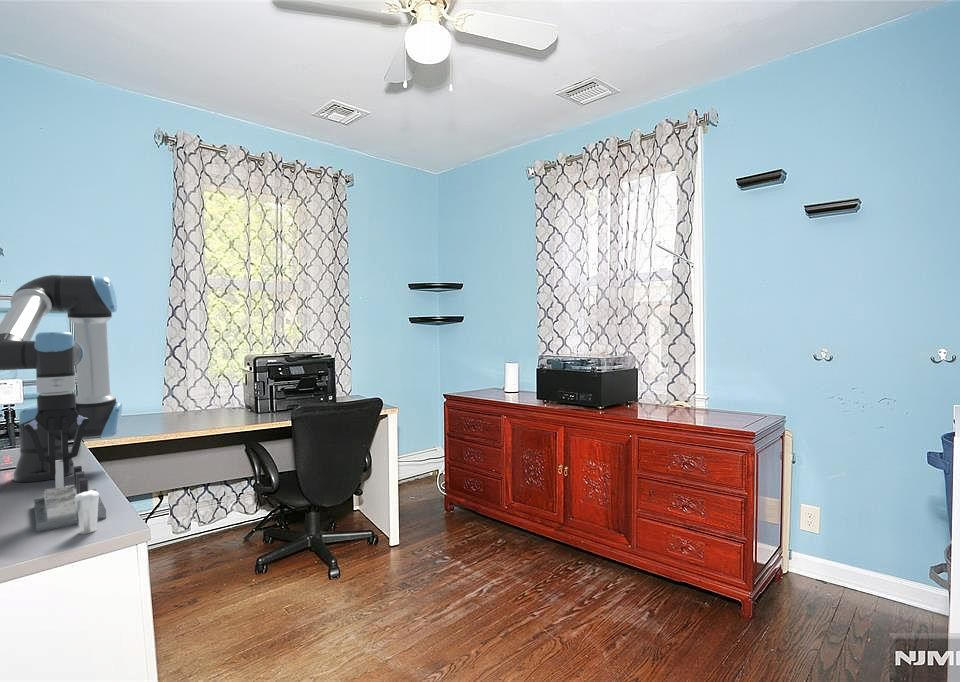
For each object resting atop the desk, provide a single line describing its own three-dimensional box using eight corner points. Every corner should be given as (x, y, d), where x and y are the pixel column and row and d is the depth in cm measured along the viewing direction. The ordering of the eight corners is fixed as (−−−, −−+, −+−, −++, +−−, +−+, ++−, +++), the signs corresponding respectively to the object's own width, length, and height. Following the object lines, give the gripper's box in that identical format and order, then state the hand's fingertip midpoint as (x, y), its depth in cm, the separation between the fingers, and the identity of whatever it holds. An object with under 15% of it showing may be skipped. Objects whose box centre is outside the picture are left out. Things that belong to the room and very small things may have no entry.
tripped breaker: (76, 491, 134) (75, 472, 134) (84, 489, 135) (83, 471, 135) (77, 493, 132) (76, 474, 132) (85, 491, 134) (84, 473, 133)
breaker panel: (34, 507, 137) (33, 470, 137) (95, 496, 146) (94, 461, 146) (36, 532, 119) (35, 490, 119) (106, 517, 128) (104, 478, 128)
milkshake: (82, 527, 121) (81, 485, 121) (105, 527, 121) (103, 484, 121) (66, 535, 117) (65, 491, 117) (89, 535, 117) (88, 490, 117)
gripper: (22, 397, 124) (25, 496, 124) (90, 392, 132) (93, 484, 133) (21, 394, 129) (24, 489, 130) (87, 390, 138) (90, 478, 138)
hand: (59, 486), depth 131 cm, fingers closed
